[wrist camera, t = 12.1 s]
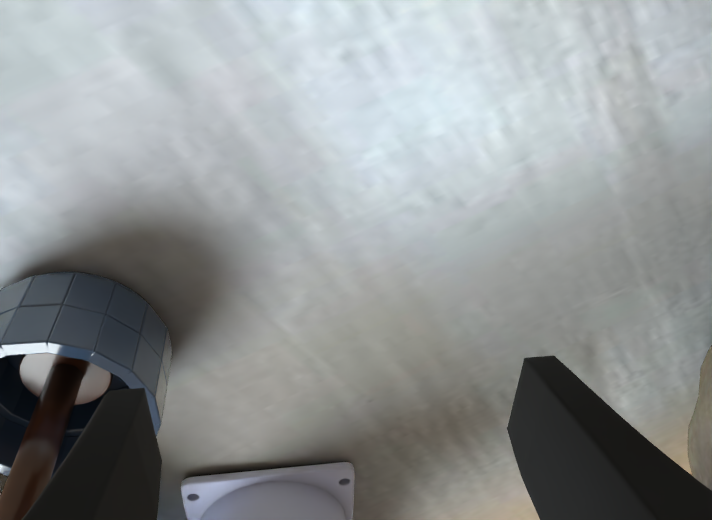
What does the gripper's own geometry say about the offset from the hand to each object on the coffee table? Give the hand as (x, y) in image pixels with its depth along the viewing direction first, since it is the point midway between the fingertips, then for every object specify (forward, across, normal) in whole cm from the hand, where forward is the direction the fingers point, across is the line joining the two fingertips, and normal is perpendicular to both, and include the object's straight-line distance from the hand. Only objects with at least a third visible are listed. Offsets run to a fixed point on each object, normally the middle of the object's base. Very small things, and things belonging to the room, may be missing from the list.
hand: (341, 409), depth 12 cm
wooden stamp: (+10, +8, +6) cm, 15 cm away
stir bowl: (+10, +8, +6) cm, 15 cm away
